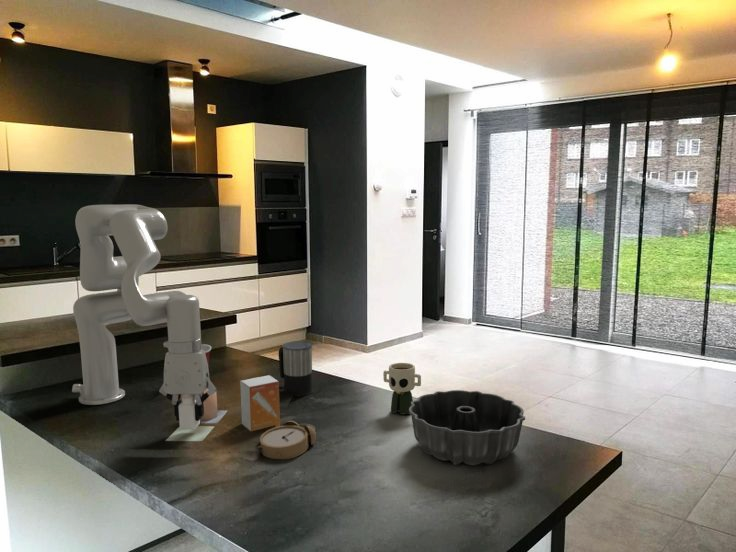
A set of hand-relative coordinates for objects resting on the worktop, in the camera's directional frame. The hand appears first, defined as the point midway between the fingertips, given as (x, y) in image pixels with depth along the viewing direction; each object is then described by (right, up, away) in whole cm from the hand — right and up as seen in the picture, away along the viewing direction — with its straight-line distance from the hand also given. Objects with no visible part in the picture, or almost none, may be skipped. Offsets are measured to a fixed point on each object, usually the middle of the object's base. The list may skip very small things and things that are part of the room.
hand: (189, 418), depth 143 cm
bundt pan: (+67, -6, -7) cm, 67 cm away
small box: (+17, -5, +6) cm, 18 cm away
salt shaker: (0, -3, 0) cm, 3 cm away
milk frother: (+19, -1, +33) cm, 38 cm away
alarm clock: (+25, -6, -4) cm, 26 cm away
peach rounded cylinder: (+1, -2, +11) cm, 12 cm away
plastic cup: (-11, 0, +43) cm, 44 cm away
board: (0, -5, +6) cm, 8 cm away
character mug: (+53, -3, +16) cm, 56 cm away
